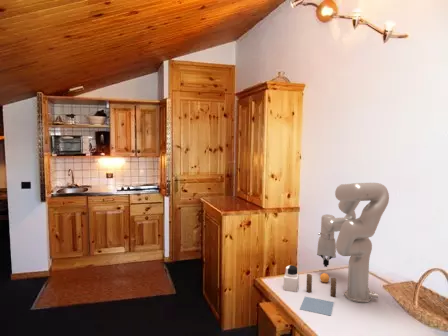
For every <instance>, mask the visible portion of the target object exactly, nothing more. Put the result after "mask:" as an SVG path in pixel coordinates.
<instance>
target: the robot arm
mask: <svg viewBox="0 0 448 336" xmlns="http://www.w3.org/2000/svg"><path fill="white" fill-rule="evenodd" d="M334 196H335V198H336V200H338V201H339V202H338V204H337V205H338V209H339V210H340V211H341V212H342V213H343V214H345V216H344V217H335V216H334V215H332V214H322V216H321V222H320V226H321V227H320V232H318V233H317V235H318V236H319V238H318V240H317V242H318V243H317V249H316V252H317V254H316V255H317V256H319V257H321V258H322V260H323V263H322V264H323V266H324V268H328V267H329V265H330V264H329V263H330V262H329V261H330V260H331V259H335V258H337V255H336V253H338V255H340V256H342V257H349V260H348V268H347V269H348V270H347V271H348V272H347V289H346V290H345V291H344V295H343V296H344V297H345V298H346V299H348V300H349V301H351V302H356V303H360V304H361V303H362V304H363V303H364V304H365V303H368V302H370V301H372V298H375V299H378V298H379V294H378V293H376V292H375V291H372V290H370V289H369V278H370V277H369V274H370V273H369V272H370V258H371V254H372V251H373V243H372V240H371V239H370V238H372V237H373V236H374V234H375V233H376V230H377V228H378V226H379V223H380V221H381V218H382V216H383V214H384V213H385V210H386V209H387V206H388V204H389V202H390V201H389V200H390V193H389V191H388V188H387V187H386V186H385V185H384V184H382V183H378V182H356V183H345V184H339V185H338V186H337V187H336V189H335V191H334ZM368 201H369V202H368ZM361 202H368V203H367V204H366V205H365V206H364V207H363V209H362V211H361V213H360V216H359V217H358V218H357V214H356V209H357V207H358V206H359V204H360V203H361ZM336 232H338V235H337V239H336V238H335V233H336Z"/></svg>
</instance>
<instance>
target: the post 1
mask: <svg viewBox="0 0 448 336" xmlns="http://www.w3.org/2000/svg"><path fill="white" fill-rule="evenodd" d="M312 282H313V274H312V273H307V274H306V293H308V294H309V293H312V290H313V289H312V288H313V287H312V286H313V283H312Z"/></svg>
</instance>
